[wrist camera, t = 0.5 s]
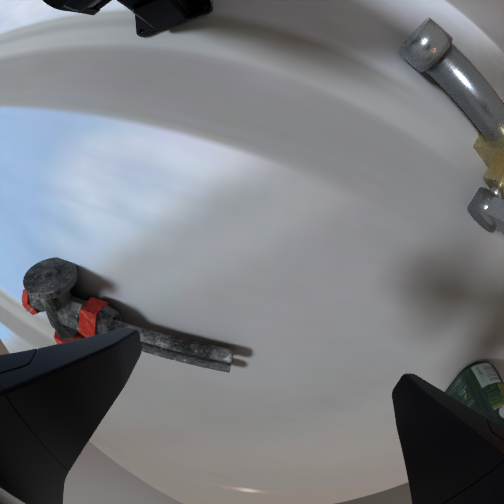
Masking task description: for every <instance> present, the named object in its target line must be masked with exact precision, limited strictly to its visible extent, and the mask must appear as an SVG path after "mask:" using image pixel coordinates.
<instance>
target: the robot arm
mask: <svg viewBox="0 0 504 504" xmlns="http://www.w3.org/2000/svg"><path fill="white" fill-rule="evenodd" d="M43 1H44V2H45V3H47V4H48V5H49V6H51V7H53V8H55V9H58V10H63V11H71V12H78V13H84V14H89V15H95V14H96V13H97V12H99V11H100V9H101V8H102V7H103V6H105V5H106V4H107V3H109V2H110V1H112V0H43ZM117 1H118V2H120V3H121V4H123V5H124V6H126V7H127V8H128V9H130V10H131V11H132V12H133V13H134V14H135V20H136V32H137V35H138V36H140V37H145V36H147V35H149V34H151V33H154V32H156V31H160V30H162V29H165V28H167V27H170V26H173V25H175V24H178V23H181V22H184V21H186V20H188V19H191V18H194V17H197V16H200V15H204V14H207V13H209V12H211V11H212V9H213V6H212V2H211V0H117ZM205 7H208V8H207V9H204V8H205ZM143 30H144V32H143V33H142V31H143ZM141 350H142V348H141V340H140V333H139V331H138V330H137V329H134V328H130V327H126V328H122V329H118V330H114V331H110V332H106V333H102V334H98V335H94V336H90V337H86V338H82V339H78V340H74V341H70V342H65V343H61V344H57V345H52V346H48V347H43V348H39V349H38V350H37V349H32V350H28V351H22V352H17V353H11V354H4V355H0V504H63V491H64V482H65V479H66V476H67V474H68V472H69V470H70V469H71V467H72V466H73V464H74V463H75V461H76V459H77V458H78V456H79V455H80V453H81V451H82V450H83V448H84V447H85V445H86V444H87V442H88V441H89V439H90V438H91V436H92V434H93V433H94V431H95V430H96V428H97V427H98V425H99V424H100V422H101V421H102V419H103V418H104V416H105V415H106V413H107V412H108V410H109V409H110V407H111V406H112V404H113V403H114V401H115V400H116V398H117V397H118V395H119V394H120V392H121V391H122V389H123V388H124V386H125V384H126V383H127V381H128V379H129V377H130V375H131V373H132V371H133V369H134V367H135V365H136V363H137V361H138V359H139V357H140V355H141ZM392 399H393V405H394V412H395V419H396V426H397V431H398V435H399V439H400V443H401V447H402V452H403V456H404V461H405V466H406V470H407V475H408V481H409V486H410V492H411V498H412V504H504V426H502V425H500V424H498V423H496V422H495V421H493V420H491V419H489V418H488V417H485V416H483V415H482V414H480V413H478V412H477V411H475V410H473V409H472V408H470V407H468V406H466V405H465V404H463V403H461V402H460V401H458V400H456V399H455V398H453V397H451V396H450V395H448V394H446V393H445V392H443V391H441V390H440V389H438V388H436V387H435V386H433V385H431V384H430V383H428V382H427V381H425V380H423V379H422V378H420V377H418V376H417V375H415V374H404V375H402V377H401V378H400V380H399V381H398V383H397V384H396V386H395V387H394V389H393V392H392Z"/></svg>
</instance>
